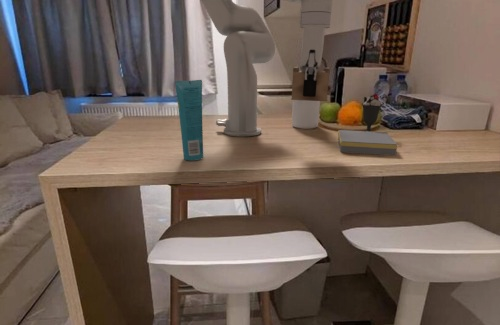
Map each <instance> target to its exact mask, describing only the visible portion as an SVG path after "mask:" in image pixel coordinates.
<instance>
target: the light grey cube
mask: <svg viewBox="0 0 500 325" xmlns="http://www.w3.org/2000/svg"><path fill="white" fill-rule="evenodd" d="M314 59H315V57H314ZM317 64H318V62H317ZM307 67H308V66H307ZM314 67H316V64H315V66H314ZM302 68H303V69H301V70H300V71H301V72H305V71H306V65H305V66H302ZM318 70H319V69H317V72H318Z"/></svg>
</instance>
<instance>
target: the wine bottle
mask: <svg viewBox="0 0 500 325" xmlns="http://www.w3.org/2000/svg"><path fill="white" fill-rule="evenodd" d="M320 105H321V101H307V100H292V109H291V110H292V113H291V114H292V115H291V125H292V127H294V128H295V129H303V130H304V129H306V130H308V129H309V130H311V129H316V128H318V126H319V118H320Z"/></svg>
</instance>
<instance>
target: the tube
mask: <svg viewBox="0 0 500 325" xmlns="http://www.w3.org/2000/svg"><path fill="white" fill-rule="evenodd" d="M174 85H175V93H176V99H177V100H176V101H177V107H178V115H179V123H180V133H181V142H182V153H183V159H184V160H185V161H190V162H191V161H192V162H193V161H200V160H202V159H203V158H204V140H203V139H204V135H203V133H204V131H203V80H202V79H192V80H175V81H174Z"/></svg>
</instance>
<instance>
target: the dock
mask: <svg viewBox="0 0 500 325" xmlns="http://www.w3.org/2000/svg"><path fill="white" fill-rule="evenodd" d="M337 140H338V141H337V142H338V145H339V146H338V147H339V151H340V153H349V154H350V153H353V154H366V155H367V154H368V155H382V156H383V155H385V156H396V154H397V148H398V144H397V142H396V141H395V140H394V139H393V138H392V137H391V135H390V134H389V133H388V132H385V131H384V132H383V131H371V132H369V131H366V130H365V131H363V130H362V131H361V130H349V129H347V130H345V129H344V130H343V129H339V130H338V131H337Z"/></svg>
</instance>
